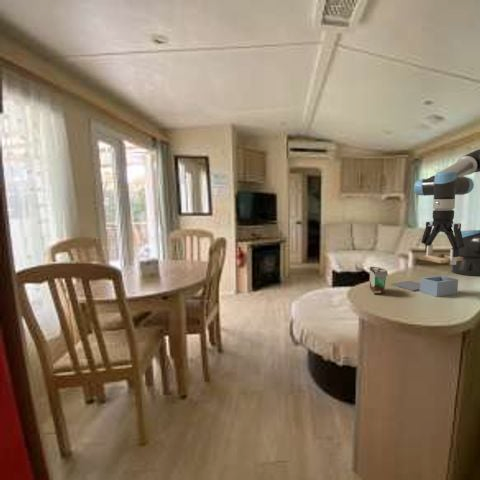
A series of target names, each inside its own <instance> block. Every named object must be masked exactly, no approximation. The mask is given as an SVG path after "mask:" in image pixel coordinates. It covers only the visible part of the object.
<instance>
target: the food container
mask: <svg viewBox="0 0 480 480" xmlns="http://www.w3.org/2000/svg"><path fill="white" fill-rule="evenodd" d="M388 276H389V273H388V270H387V269H386V268H384V267H379V266H369V290H370V291H371V293H372V295H374V296H378V295H379V296H381V295H383V294H384V293H385V287H386V280H387V277H388Z"/></svg>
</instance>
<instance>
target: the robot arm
mask: <svg viewBox="0 0 480 480" xmlns="http://www.w3.org/2000/svg"><path fill="white" fill-rule="evenodd" d="M479 172H480V148H478V149H476V150H474V151H471V152H469V153H467V154H464V155H463V156H461V157H459V159H457V161H456V162H455V163H453V164H451V165H450V166H448V167H446V168H444V169H443V170H440V171H437V172H436V173H435V174H434V175H432V176H430V177H429V178H422V179H418V180H416V181H415V182H414V184H413V190H414V193H415V195H417V196H423V197H424V196H433V201H432V202H433V203H432V207H433V208H432V209H433V210H432V219H433V220H432V221H426V222H425V229H424V231H423V234H422V238H421V241H420V242H421V244H424V245H425V246H424V247H425V248H424V250H425V251H424V252H425V253H426V254H425V255H433V251H434V250H433V248H434V246H433V242H434V241H435V239H436V237H437V236H438V234H440V233H444V234H445V235H446V237H447V239H448V241H449V243H450V245H451V247H452V248H450V253H449V255H450V262H449V265H450V266H451V272H452V273H454V274H457V275H462V276H470V277H471V276H473V277H475V276H476V277H480V229H473V230H472V229H471V230H470V229H469V230H462V223H460V222H459V223H456V222H455V223H454V219H455V210H454V209H455V208H456V205H455V204H456V196H459V195H460V196H462V195H467V194H469V193H471V192H472V190H473V189H474V185H475V183H474V180H472V178H470V177H467V176H469V175H473V174H474V173H479ZM458 256H459V257H463V260H460V261H456V259H457V257H458Z"/></svg>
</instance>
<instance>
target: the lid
mask: <svg viewBox="0 0 480 480" xmlns="http://www.w3.org/2000/svg"><path fill="white" fill-rule="evenodd" d="M418 259H419V260H422V261H427V262H433V263H437V264H446V263H450V254H446V253H436V254H435V253H434V254H432V255H426V254H425V255H420V256H418ZM460 260H463V257H459V256H458V257H457V259H456V261H460Z"/></svg>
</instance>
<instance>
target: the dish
mask: <svg viewBox="0 0 480 480" xmlns="http://www.w3.org/2000/svg"><path fill="white" fill-rule="evenodd" d="M419 283H420V290H419V293H422V294H426V295H430V296H432V297H435V298H436V297H437V298H438V297H445V296H450V295H455V294H458V286H459V285H458V284H459V279H457V278H454V277H448V276H444V275H435V276H426V277H420V278H419Z"/></svg>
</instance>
